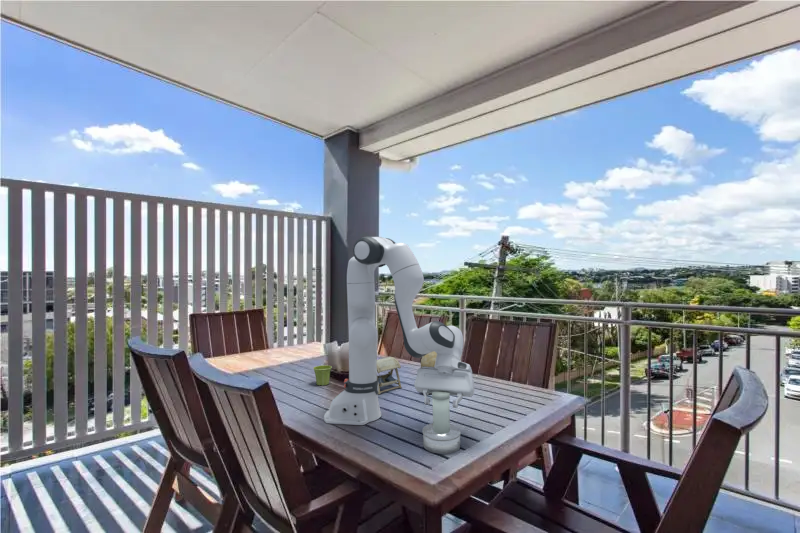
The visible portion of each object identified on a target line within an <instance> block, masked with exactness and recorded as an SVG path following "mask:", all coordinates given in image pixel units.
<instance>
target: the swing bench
mask: <svg viewBox="0 0 800 533" xmlns="http://www.w3.org/2000/svg"><path fill="white" fill-rule="evenodd" d="M399 369H401V364H400V362H399V360H398V359H396V358H395V357H393V356H388V357H384V358H380V359H377V374H378V375H377V379H378V396H379V395H381V393H385V392H389V391H391V390H392V391H393V390H394V389H398V388H399V389H402V384H401V379H400V375H399ZM394 370H395V371H394ZM387 371H388V372H387ZM383 372H387V373H385V374H380V373H383ZM393 372H395V375H396V378H397V379H396V378H394V377H393ZM393 384H394V385H396V386H394V387H391V388H387V389H383V390H381V388H383V387H387V386H391V385H393ZM397 385H398V386H397Z"/></svg>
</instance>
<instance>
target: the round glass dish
mask: <svg viewBox="0 0 800 533" xmlns="http://www.w3.org/2000/svg"><path fill="white" fill-rule="evenodd" d="M422 434H423V435H422V437H423V438H422V439H423V440H422V444H423V447H424V449H425V450H426V451H428V452H430V453H434V454H440V455H444V454H445V455H448V454H449V455H450V454H452V453H456V452H457V451H460V448H461V434H462V433H461V429H460V427H458V426H457V425H454V424H451V423H450V432H448V433H445V434H439V433H435V432H434V431H433V422H432V423H429V424H427V425H424V426H423V428H422Z"/></svg>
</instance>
